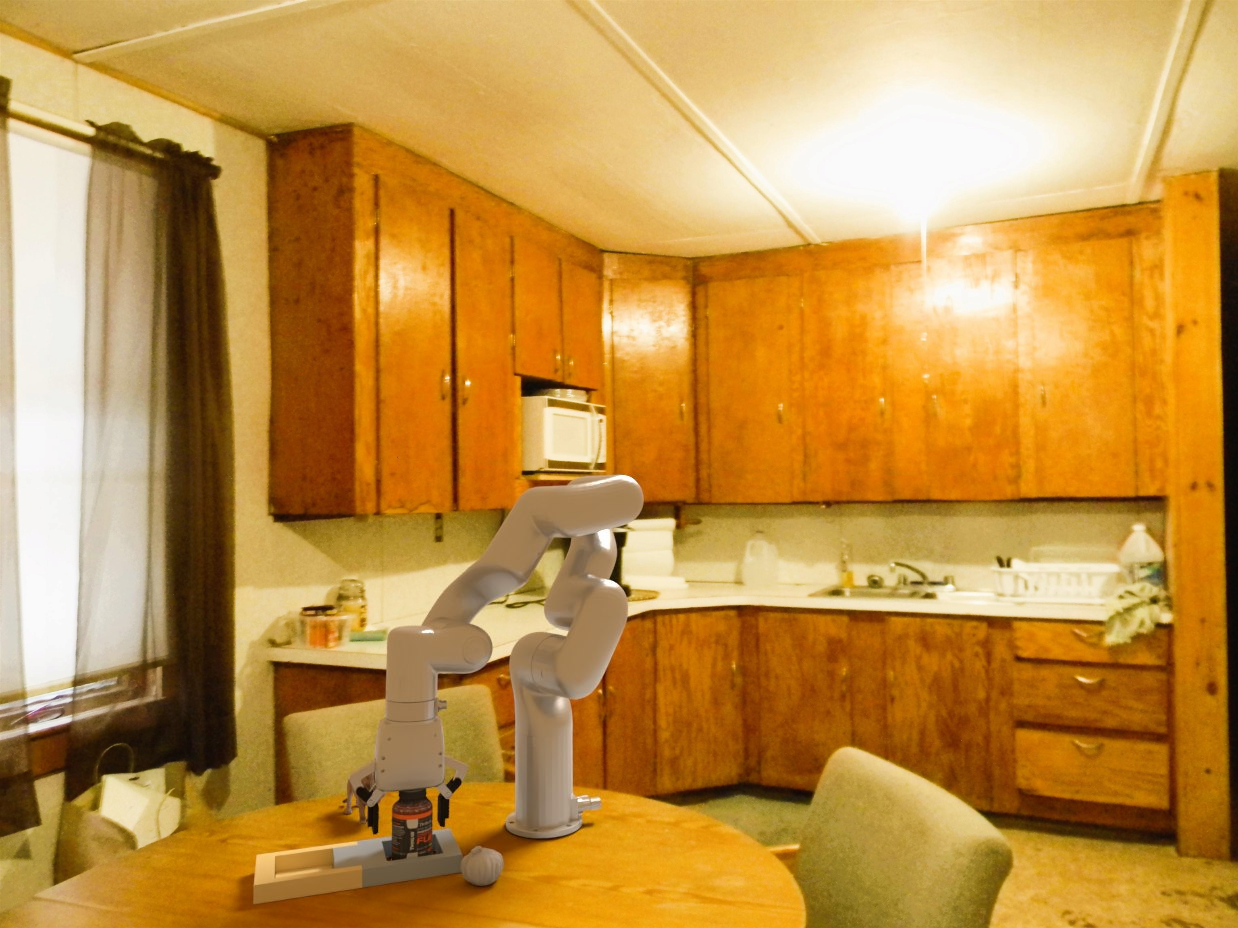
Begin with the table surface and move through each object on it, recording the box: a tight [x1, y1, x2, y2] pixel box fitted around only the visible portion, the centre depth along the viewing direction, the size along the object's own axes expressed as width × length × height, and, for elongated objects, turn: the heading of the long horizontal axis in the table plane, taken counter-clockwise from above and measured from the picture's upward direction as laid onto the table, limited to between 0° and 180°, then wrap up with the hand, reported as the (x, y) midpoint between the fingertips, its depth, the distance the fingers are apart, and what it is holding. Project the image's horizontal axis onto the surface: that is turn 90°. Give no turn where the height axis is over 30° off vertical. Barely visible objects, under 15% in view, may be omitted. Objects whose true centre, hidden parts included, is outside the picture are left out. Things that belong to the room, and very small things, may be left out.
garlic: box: [460, 845, 504, 887], centre depth 124 cm, size 6×5×5 cm
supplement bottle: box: [391, 788, 434, 861], centre depth 130 cm, size 6×6×11 cm
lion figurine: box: [341, 773, 387, 825], centre depth 151 cm, size 15×5×9 cm, turn 45°
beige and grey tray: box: [252, 828, 464, 905], centre depth 127 cm, size 28×11×2 cm, turn 110°
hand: (408, 827), depth 130 cm, fingers open, 9 cm apart
